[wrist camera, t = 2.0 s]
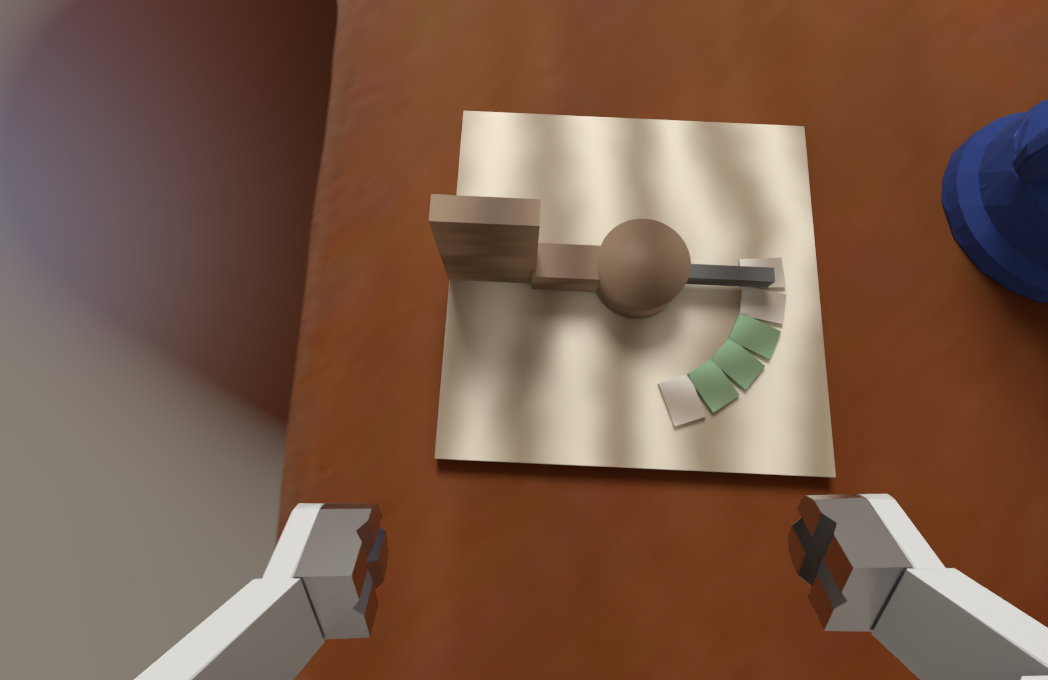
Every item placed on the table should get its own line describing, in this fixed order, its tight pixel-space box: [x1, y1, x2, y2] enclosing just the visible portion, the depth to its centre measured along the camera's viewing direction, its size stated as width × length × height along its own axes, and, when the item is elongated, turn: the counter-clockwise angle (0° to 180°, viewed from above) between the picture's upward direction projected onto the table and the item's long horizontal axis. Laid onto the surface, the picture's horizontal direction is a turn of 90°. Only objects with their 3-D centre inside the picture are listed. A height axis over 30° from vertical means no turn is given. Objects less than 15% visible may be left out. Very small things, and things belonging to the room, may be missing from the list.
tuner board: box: [435, 111, 836, 477], centre depth 40 cm, size 26×26×1 cm
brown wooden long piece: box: [429, 194, 775, 319], centre depth 35 cm, size 22×6×9 cm, turn 87°
